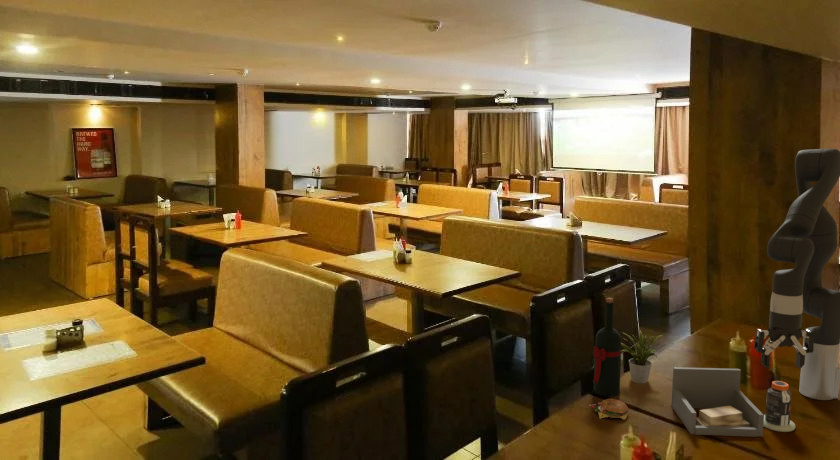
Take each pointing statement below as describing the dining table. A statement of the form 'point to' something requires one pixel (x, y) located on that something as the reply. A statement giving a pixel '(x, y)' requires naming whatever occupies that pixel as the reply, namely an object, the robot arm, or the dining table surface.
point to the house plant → (640, 358)
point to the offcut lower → (735, 424)
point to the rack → (713, 399)
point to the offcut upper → (720, 415)
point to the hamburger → (611, 409)
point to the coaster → (779, 428)
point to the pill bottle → (778, 404)
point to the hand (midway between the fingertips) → (782, 366)
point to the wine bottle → (607, 356)
